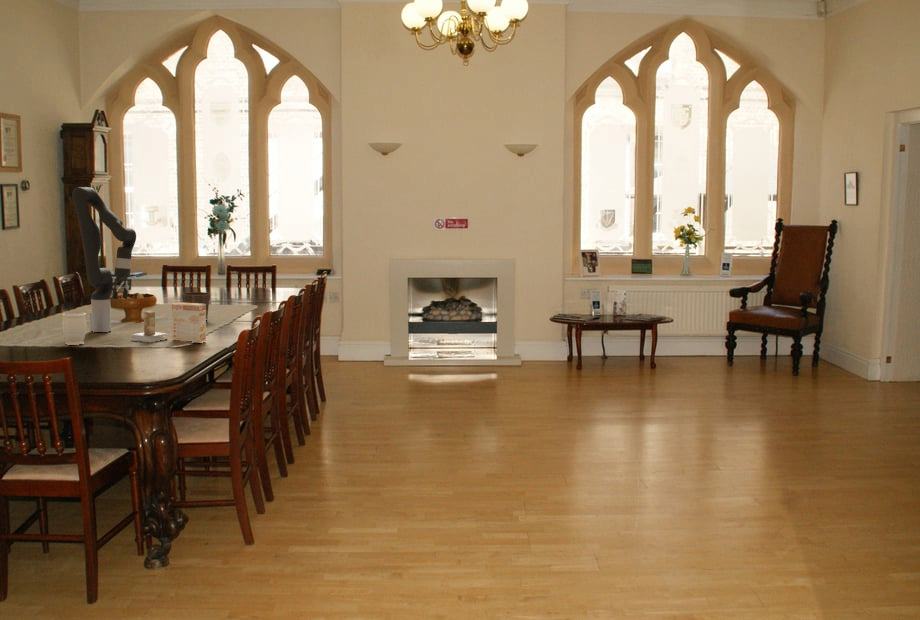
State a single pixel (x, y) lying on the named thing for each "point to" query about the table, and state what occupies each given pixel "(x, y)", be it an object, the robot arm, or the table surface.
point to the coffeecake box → (189, 322)
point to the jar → (74, 327)
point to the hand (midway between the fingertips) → (119, 298)
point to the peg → (149, 323)
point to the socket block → (149, 337)
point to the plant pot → (197, 299)
